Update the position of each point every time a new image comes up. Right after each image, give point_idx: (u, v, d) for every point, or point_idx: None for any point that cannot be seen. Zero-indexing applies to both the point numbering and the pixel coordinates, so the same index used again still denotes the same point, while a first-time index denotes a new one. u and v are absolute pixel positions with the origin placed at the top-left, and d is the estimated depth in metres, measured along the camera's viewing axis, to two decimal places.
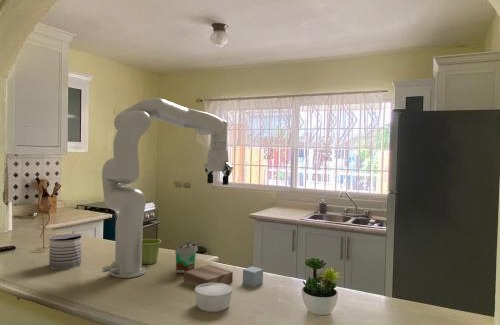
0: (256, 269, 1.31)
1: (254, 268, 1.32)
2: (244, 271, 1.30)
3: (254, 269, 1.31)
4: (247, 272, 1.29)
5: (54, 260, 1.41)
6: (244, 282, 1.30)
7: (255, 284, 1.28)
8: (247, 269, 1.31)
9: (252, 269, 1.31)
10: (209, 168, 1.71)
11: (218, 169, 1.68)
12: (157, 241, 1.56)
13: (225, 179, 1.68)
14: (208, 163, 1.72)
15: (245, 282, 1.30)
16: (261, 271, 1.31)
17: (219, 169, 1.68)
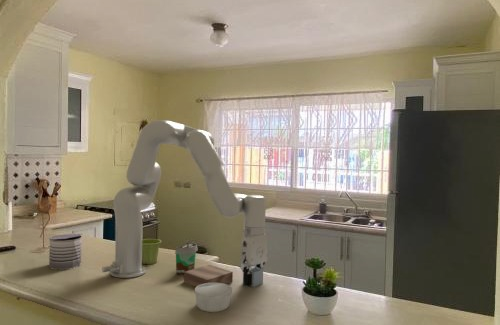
0: (256, 269, 1.31)
1: (254, 268, 1.32)
2: None
3: (254, 269, 1.31)
4: None
5: (54, 260, 1.41)
6: None
7: (255, 284, 1.28)
8: None
9: (252, 269, 1.31)
10: (254, 262, 1.27)
11: (265, 259, 1.31)
12: (157, 241, 1.56)
13: None
14: (253, 256, 1.27)
15: None
16: (261, 271, 1.31)
17: (265, 260, 1.32)
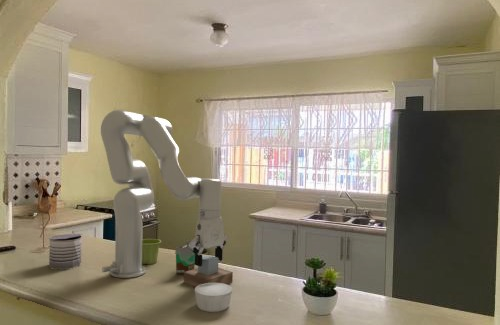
0: (211, 257, 1.31)
1: (209, 257, 1.32)
2: None
3: (209, 257, 1.31)
4: (202, 260, 1.29)
5: (54, 260, 1.41)
6: (199, 270, 1.30)
7: (210, 272, 1.29)
8: (202, 257, 1.31)
9: (207, 257, 1.31)
10: (209, 245, 1.27)
11: (220, 243, 1.32)
12: (157, 241, 1.56)
13: None
14: (207, 239, 1.27)
15: (200, 270, 1.30)
16: (216, 260, 1.31)
17: (221, 243, 1.32)
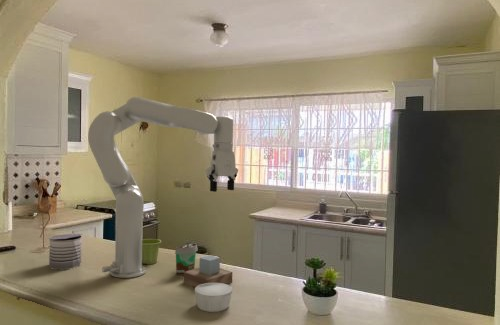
0: (213, 257, 1.31)
1: (211, 256, 1.32)
2: (201, 259, 1.30)
3: (211, 257, 1.31)
4: (203, 260, 1.29)
5: (54, 260, 1.41)
6: (201, 270, 1.30)
7: (211, 272, 1.29)
8: (204, 257, 1.31)
9: (209, 257, 1.31)
10: (222, 173, 1.45)
11: (232, 173, 1.50)
12: (157, 241, 1.56)
13: None
14: (221, 167, 1.45)
15: (201, 270, 1.30)
16: (217, 259, 1.31)
17: (233, 174, 1.50)
